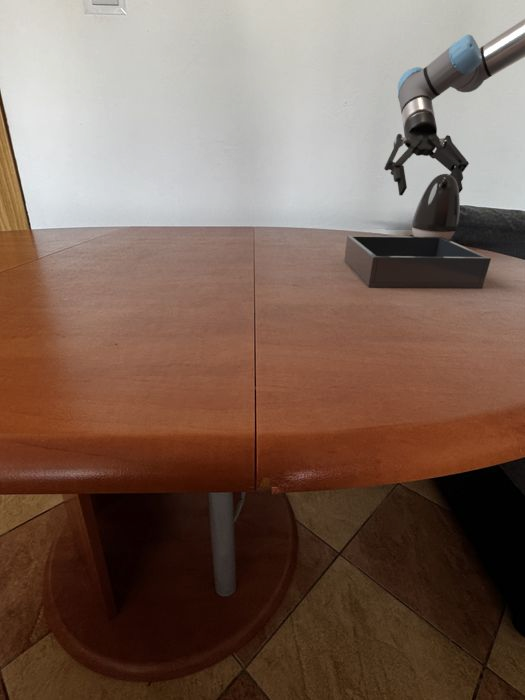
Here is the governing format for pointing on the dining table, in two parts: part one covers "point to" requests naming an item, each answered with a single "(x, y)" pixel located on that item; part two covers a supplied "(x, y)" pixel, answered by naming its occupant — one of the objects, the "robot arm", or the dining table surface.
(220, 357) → the dining table surface
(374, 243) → the dark brown tray
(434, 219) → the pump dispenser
